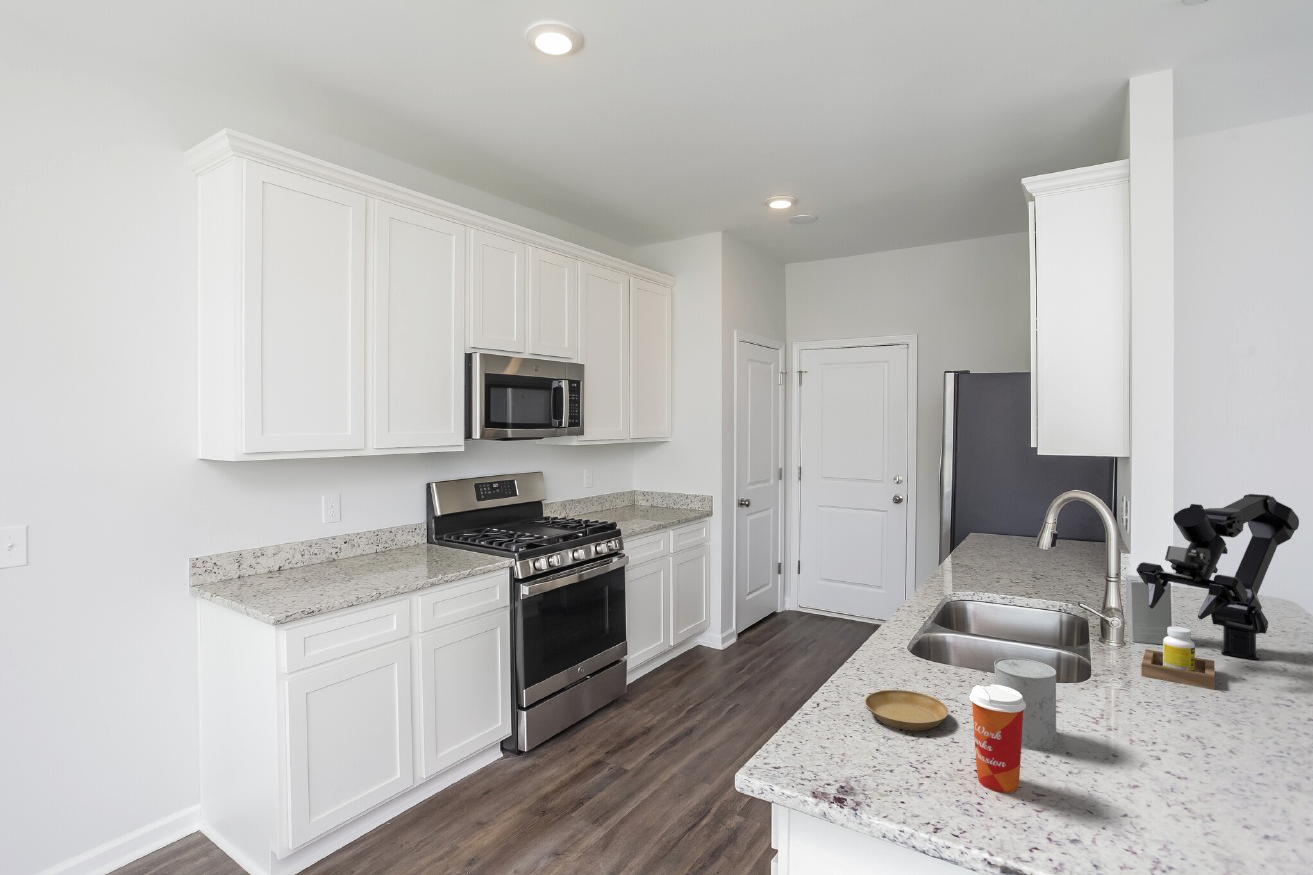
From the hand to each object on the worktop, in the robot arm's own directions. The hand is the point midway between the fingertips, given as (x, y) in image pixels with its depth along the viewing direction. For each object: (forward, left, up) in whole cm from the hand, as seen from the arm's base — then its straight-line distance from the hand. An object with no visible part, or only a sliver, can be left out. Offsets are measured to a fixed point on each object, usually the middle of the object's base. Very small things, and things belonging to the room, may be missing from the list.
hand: (1174, 612), depth 141 cm
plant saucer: (+55, -38, -14) cm, 68 cm away
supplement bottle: (-1, +1, -14) cm, 14 cm away
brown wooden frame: (-1, +1, -14) cm, 14 cm away
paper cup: (+69, -19, -14) cm, 73 cm away
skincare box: (-24, -6, -14) cm, 28 cm away
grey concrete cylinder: (+50, -19, -14) cm, 55 cm away
